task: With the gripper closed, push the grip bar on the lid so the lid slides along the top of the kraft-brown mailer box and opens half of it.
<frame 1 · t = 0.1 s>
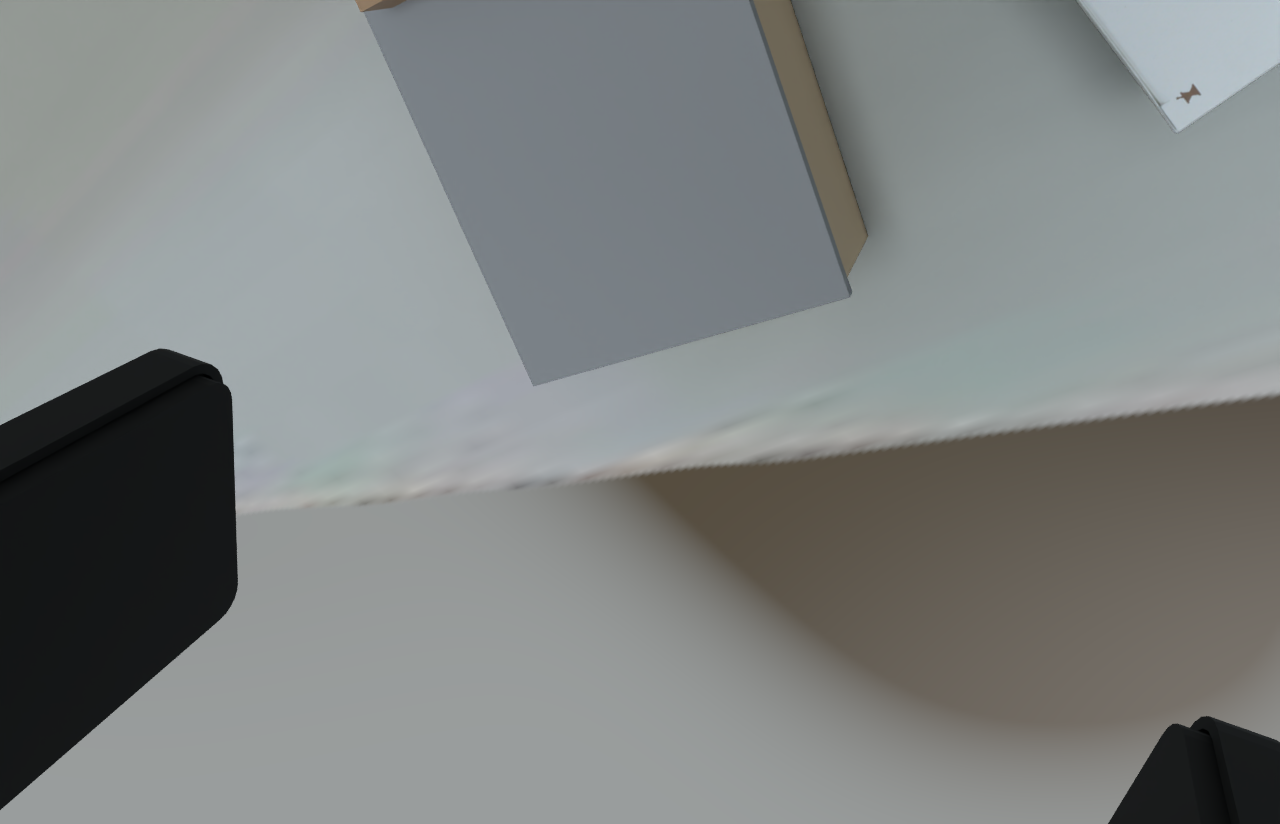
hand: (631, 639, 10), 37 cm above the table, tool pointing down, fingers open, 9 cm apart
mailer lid: (584, 131, 38), point 9 cm above the table, slide at 0.0 cm
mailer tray: (656, 96, 45), on the table
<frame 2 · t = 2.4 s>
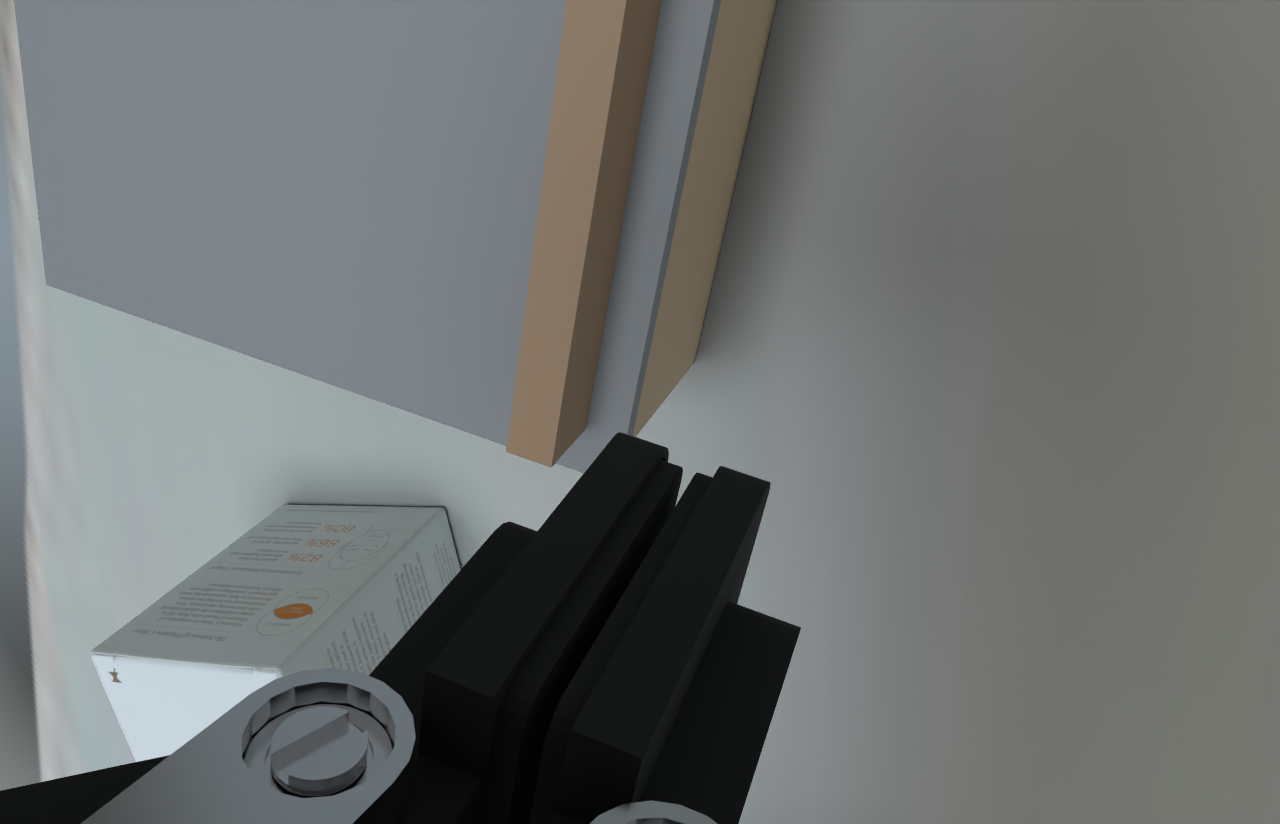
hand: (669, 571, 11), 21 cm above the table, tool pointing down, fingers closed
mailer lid: (297, 122, 24), point 9 cm above the table, slide at 0.0 cm
small box: (383, 558, 42), on the table
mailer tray: (470, 79, 31), on the table
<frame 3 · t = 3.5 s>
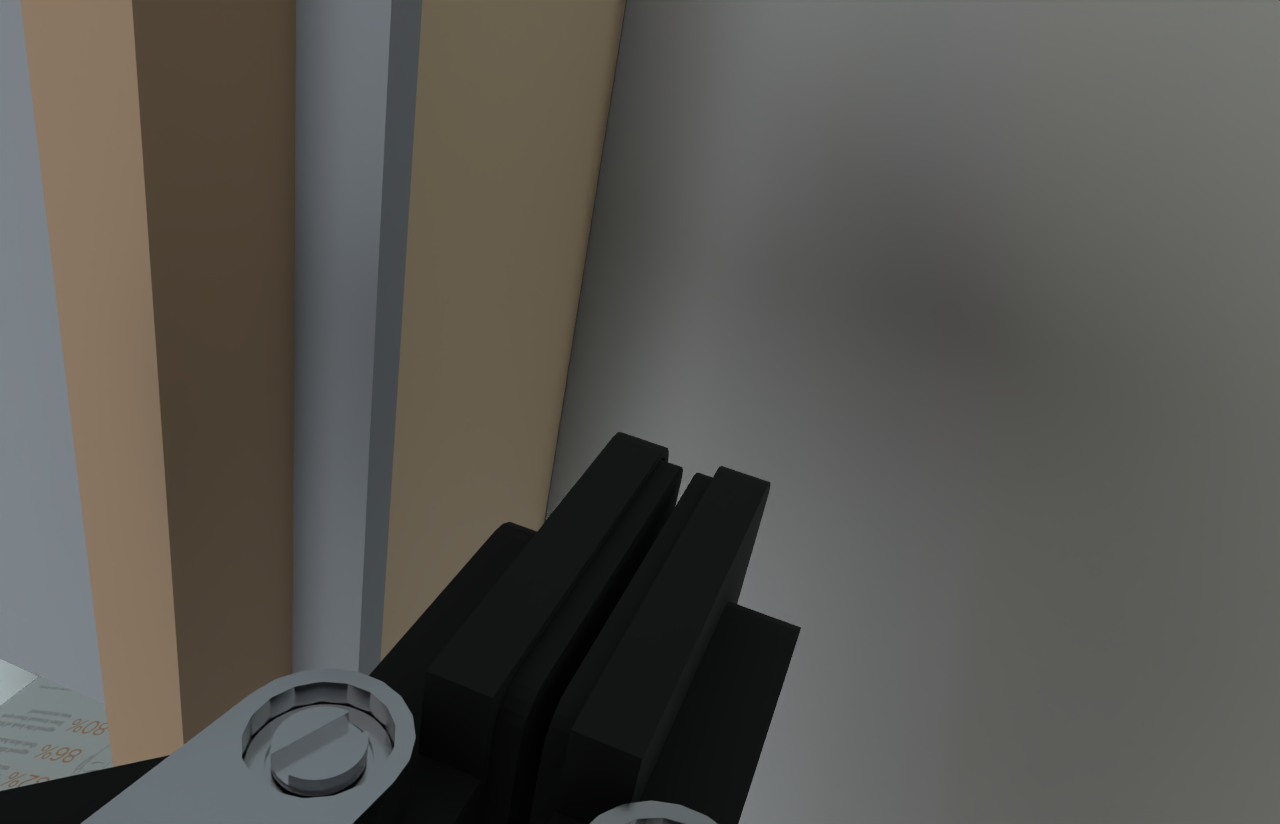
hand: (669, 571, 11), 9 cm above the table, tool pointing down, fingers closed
small box: (173, 746, 31), on the table
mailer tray: (193, 126, 21), on the table
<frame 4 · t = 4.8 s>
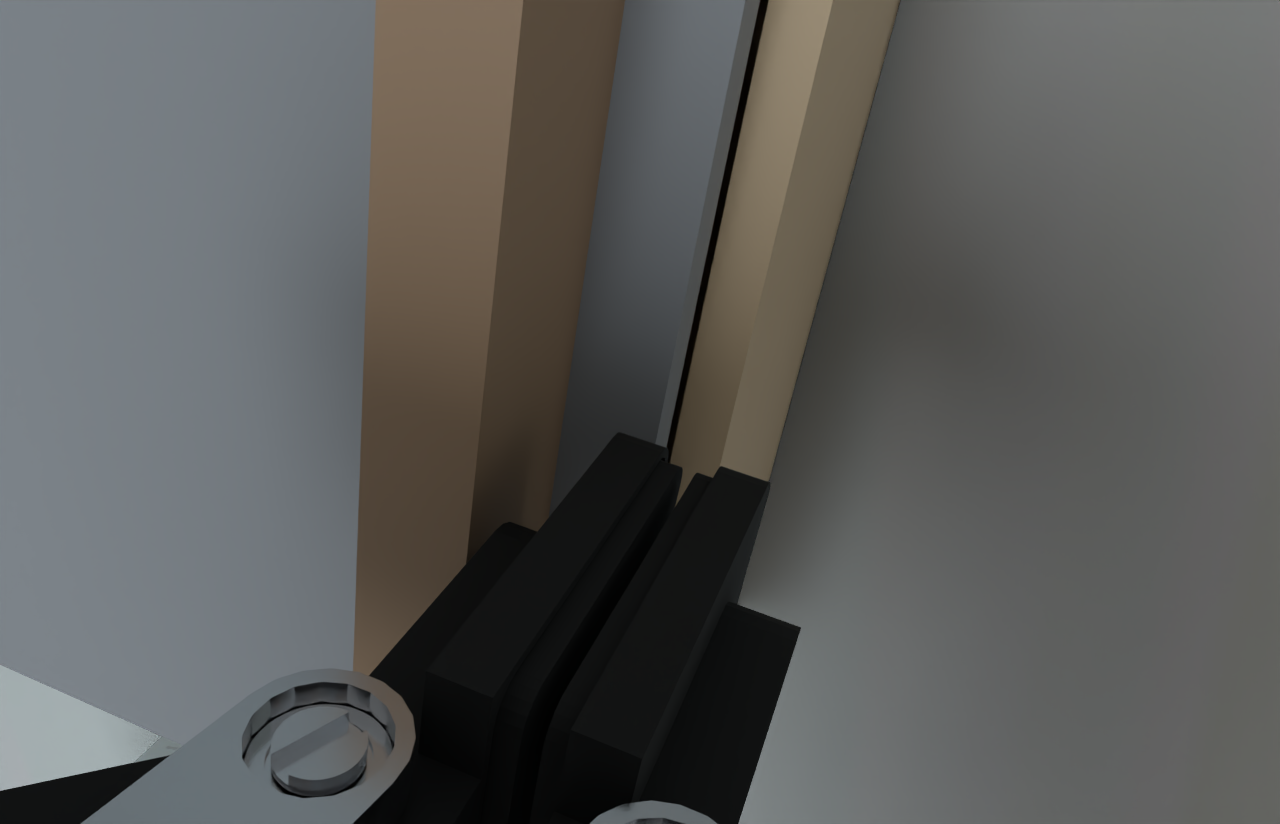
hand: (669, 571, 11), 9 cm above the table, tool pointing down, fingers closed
small box: (301, 807, 30), on the table
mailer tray: (379, 185, 20), on the table
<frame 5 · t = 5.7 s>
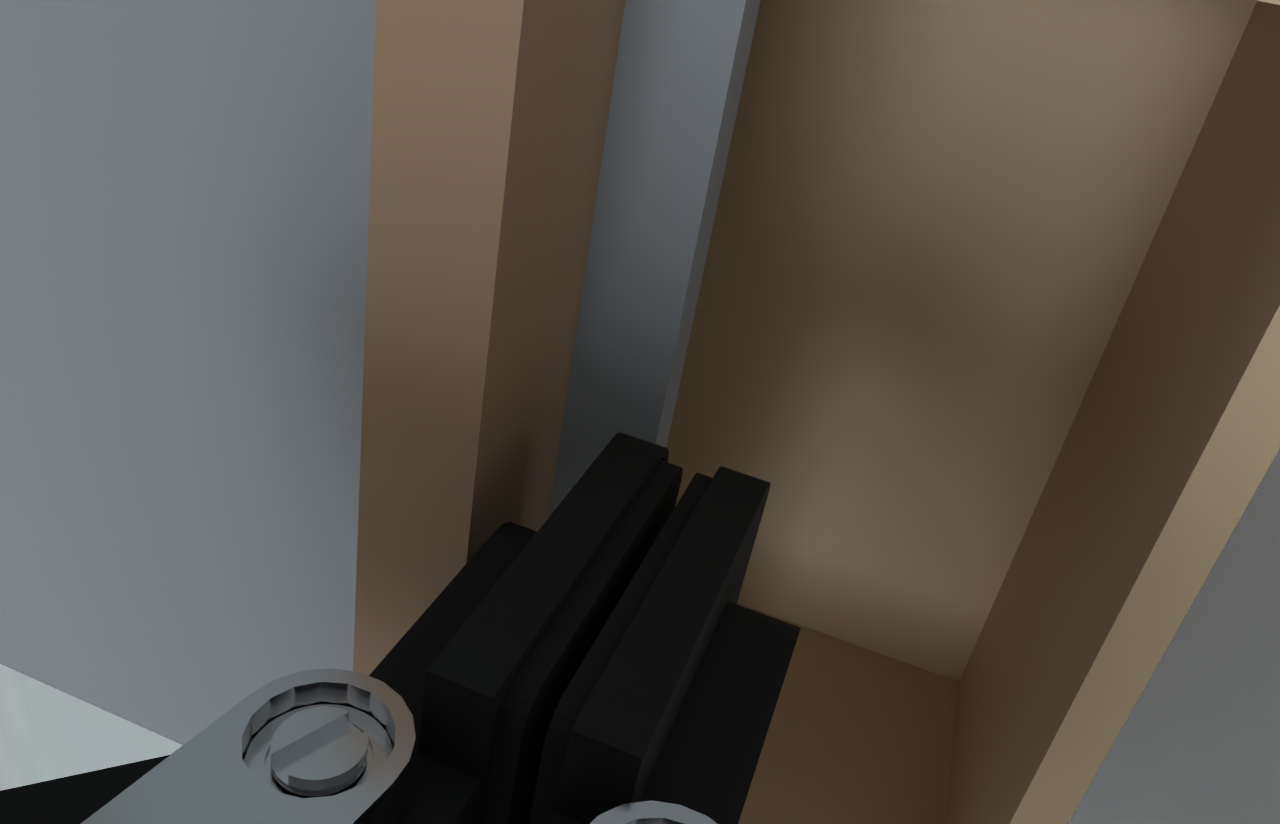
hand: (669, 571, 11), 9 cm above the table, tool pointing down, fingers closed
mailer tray: (624, 255, 19), on the table
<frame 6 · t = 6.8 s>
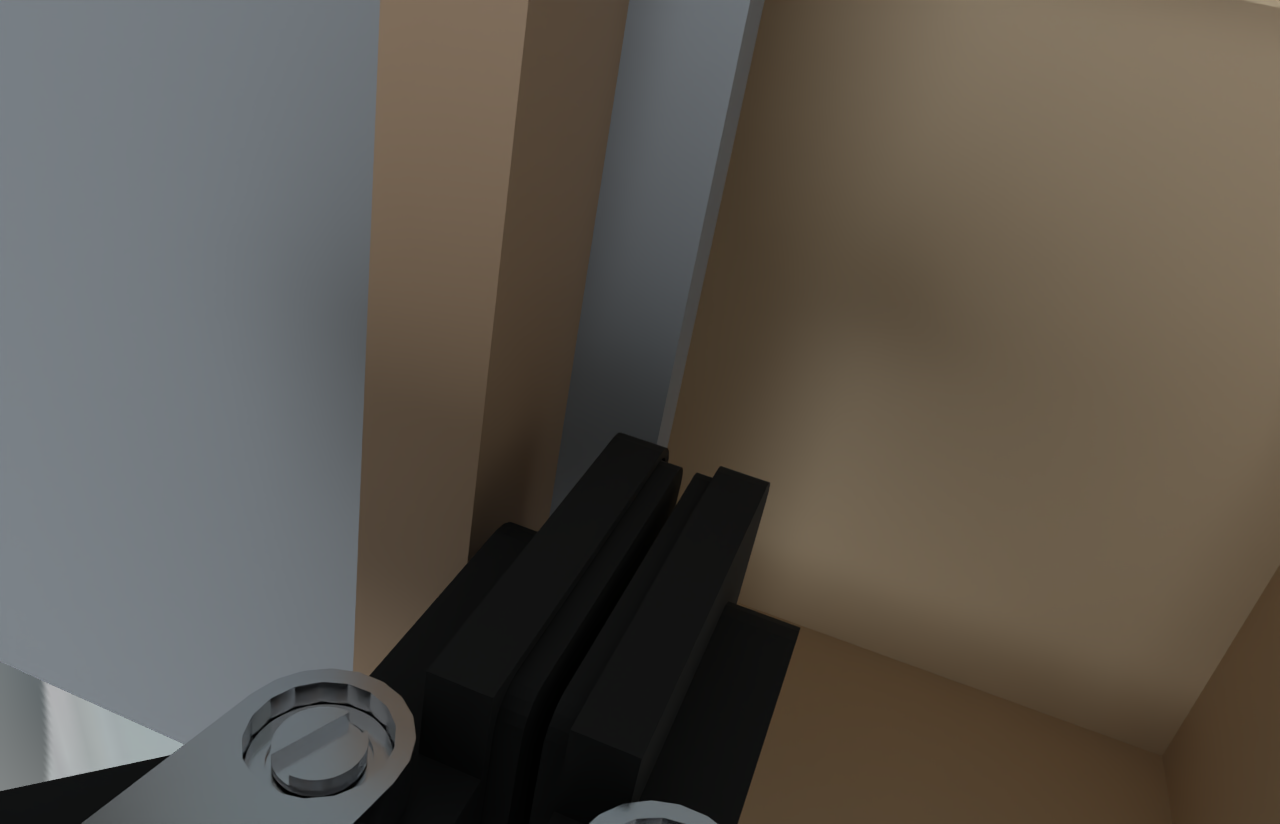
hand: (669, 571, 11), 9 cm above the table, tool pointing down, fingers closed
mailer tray: (823, 312, 18), on the table
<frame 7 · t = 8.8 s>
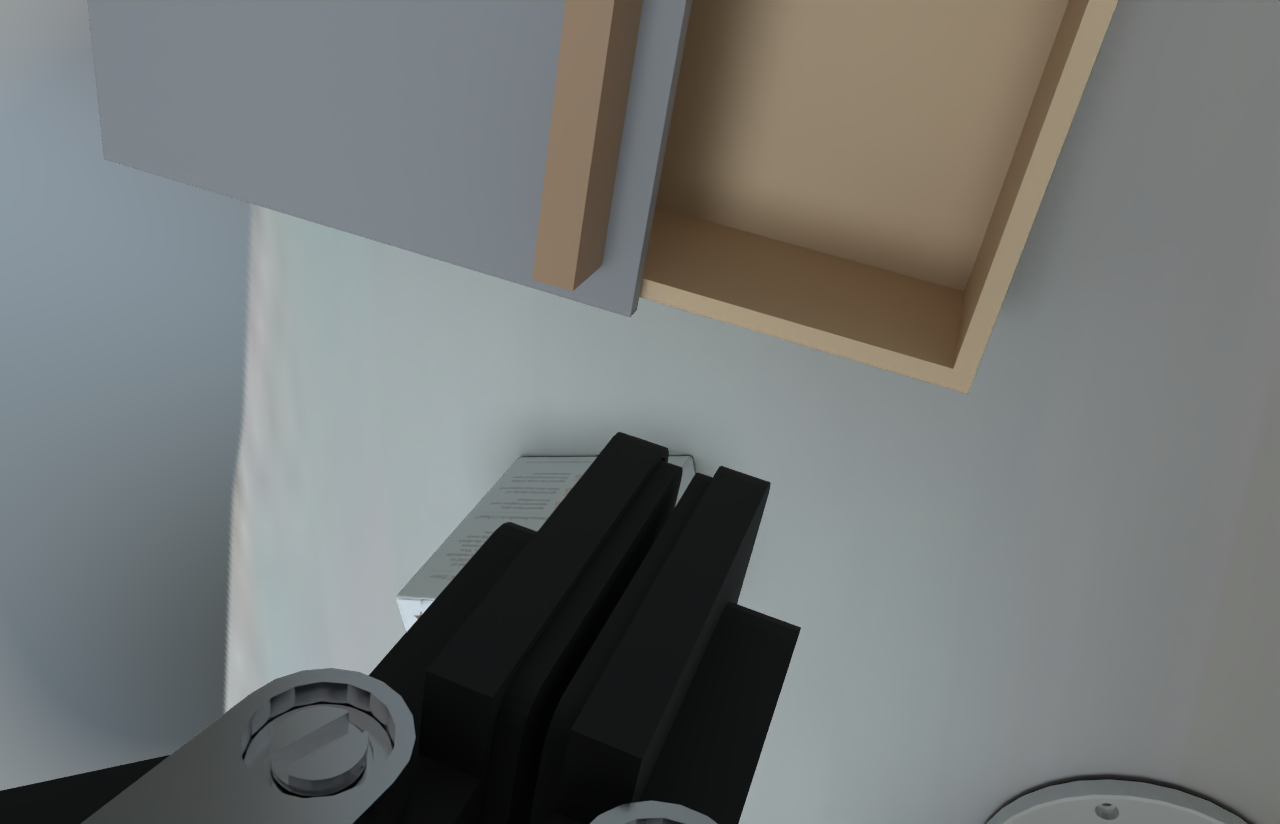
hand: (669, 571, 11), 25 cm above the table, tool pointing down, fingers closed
small box: (618, 507, 43), on the table
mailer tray: (768, 31, 32), on the table
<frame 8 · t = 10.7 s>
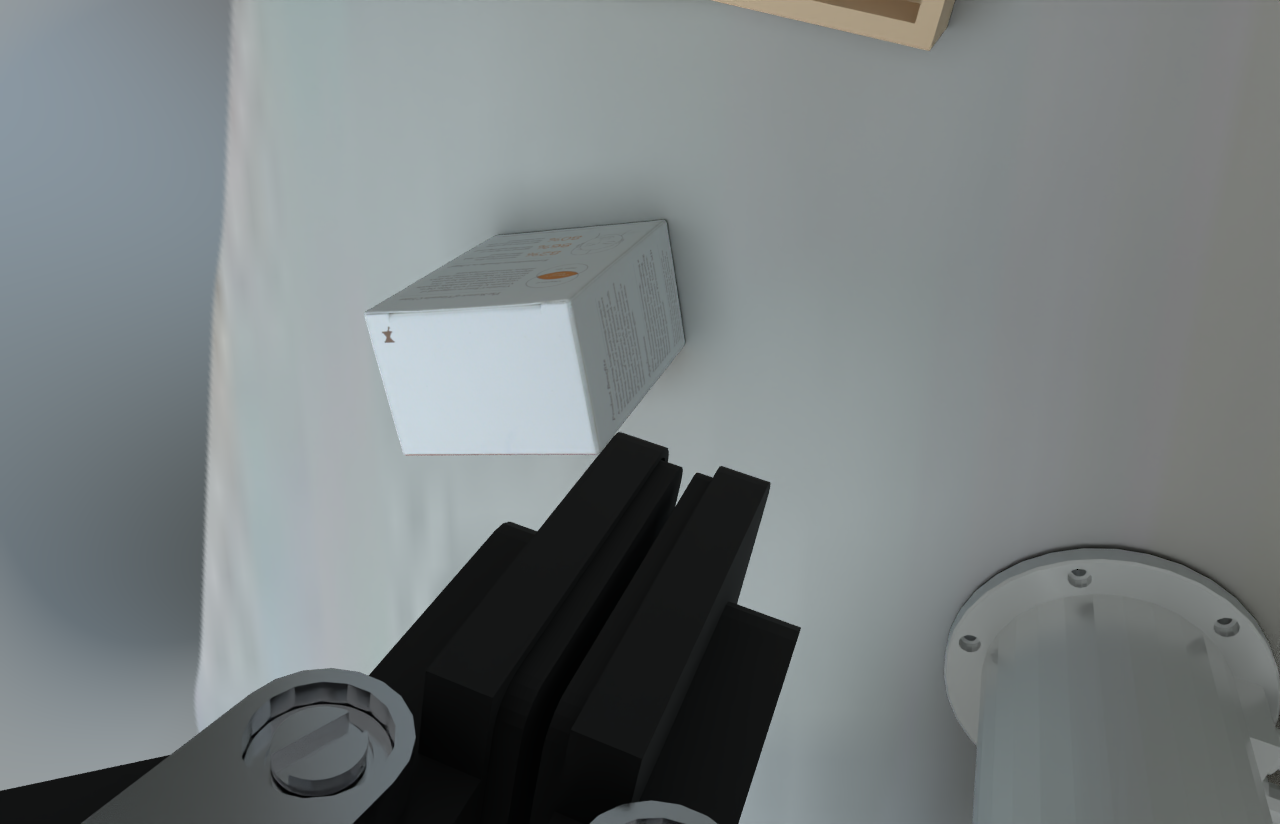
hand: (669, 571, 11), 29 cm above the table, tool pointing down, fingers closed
small box: (593, 286, 43), on the table
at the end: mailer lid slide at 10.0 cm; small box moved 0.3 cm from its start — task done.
